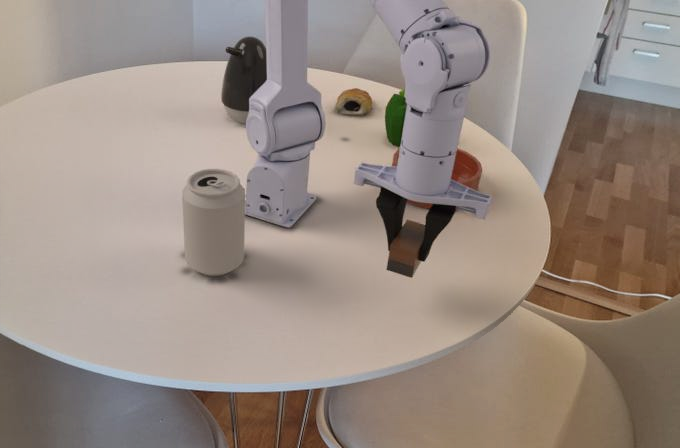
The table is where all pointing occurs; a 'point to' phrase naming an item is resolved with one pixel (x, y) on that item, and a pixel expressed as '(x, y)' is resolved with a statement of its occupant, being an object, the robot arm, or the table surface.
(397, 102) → the bell pepper
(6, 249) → the table surface
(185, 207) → the can
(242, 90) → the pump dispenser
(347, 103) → the pastry
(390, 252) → the eraser
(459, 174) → the bowl
